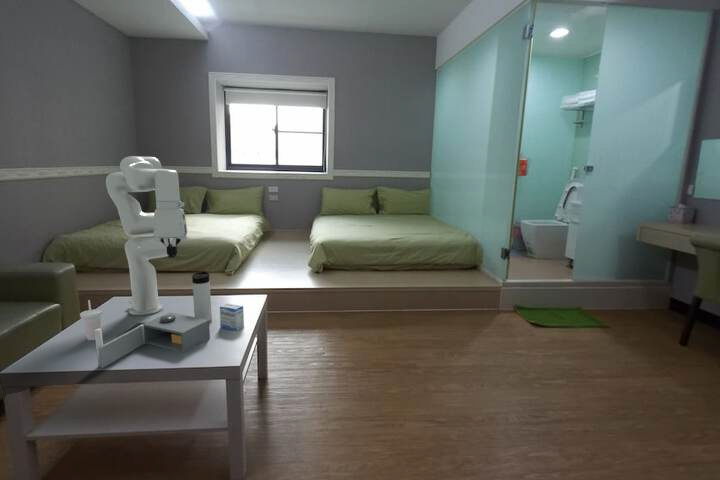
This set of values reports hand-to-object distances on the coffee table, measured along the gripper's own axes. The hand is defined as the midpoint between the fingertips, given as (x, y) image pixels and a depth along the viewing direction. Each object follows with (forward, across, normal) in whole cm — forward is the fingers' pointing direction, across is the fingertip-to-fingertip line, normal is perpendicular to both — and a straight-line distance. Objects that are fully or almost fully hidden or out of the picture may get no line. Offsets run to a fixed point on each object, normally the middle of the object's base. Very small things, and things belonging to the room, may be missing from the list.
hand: (172, 256), depth 139 cm
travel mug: (+29, -7, -10) cm, 32 cm away
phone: (+30, +16, -3) cm, 34 cm away
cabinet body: (+29, -2, +7) cm, 30 cm away
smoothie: (+29, +28, +1) cm, 41 cm away
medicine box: (+29, -19, -3) cm, 35 cm away
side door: (+29, +13, +16) cm, 35 cm away
